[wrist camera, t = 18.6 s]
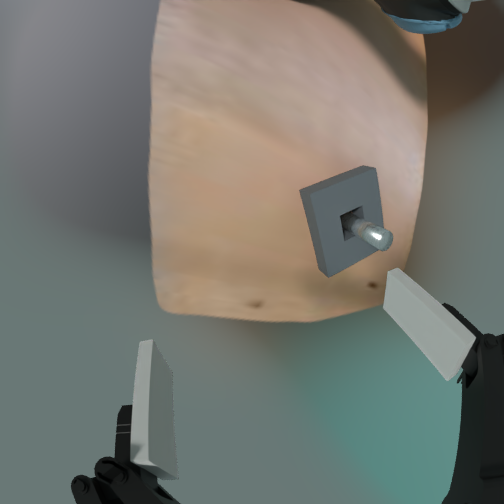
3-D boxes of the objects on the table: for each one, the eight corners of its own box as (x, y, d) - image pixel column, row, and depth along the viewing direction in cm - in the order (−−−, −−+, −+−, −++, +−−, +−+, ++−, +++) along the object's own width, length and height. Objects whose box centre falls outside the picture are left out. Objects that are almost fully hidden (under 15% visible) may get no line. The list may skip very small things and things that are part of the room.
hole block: (299, 190, 43) (309, 194, 40) (363, 165, 45) (375, 168, 42) (318, 269, 50) (328, 277, 47) (374, 239, 52) (385, 246, 49)
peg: (333, 213, 46) (377, 236, 36) (347, 207, 47) (392, 227, 36) (336, 229, 48) (379, 254, 37) (349, 222, 48) (393, 245, 38)
